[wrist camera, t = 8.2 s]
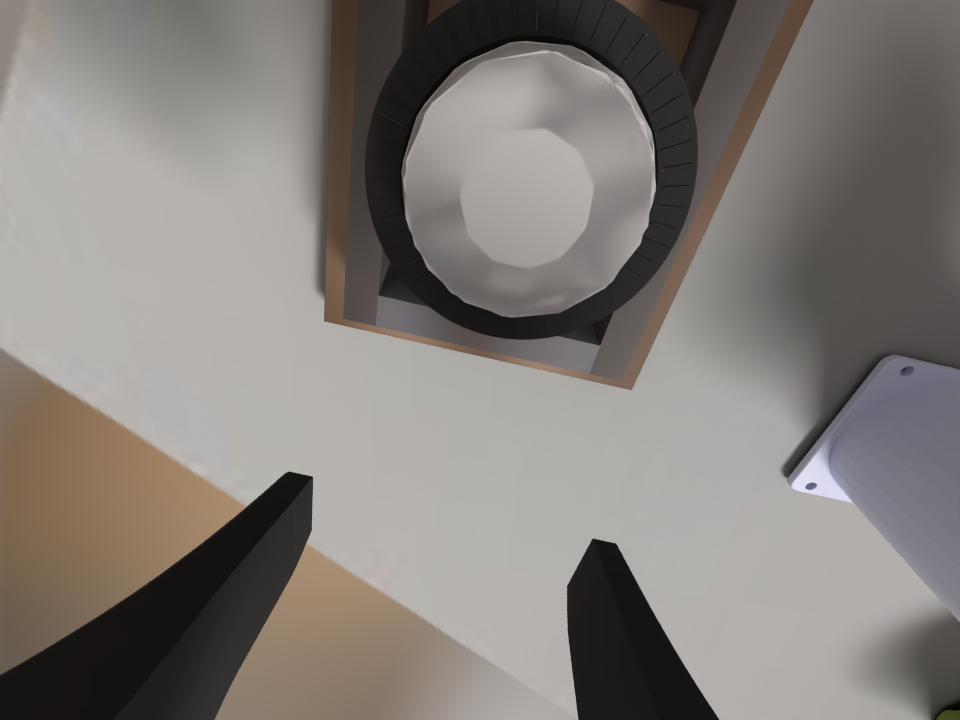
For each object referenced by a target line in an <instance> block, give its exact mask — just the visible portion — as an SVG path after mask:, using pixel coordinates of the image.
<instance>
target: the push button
mask: <svg viewBox="0 0 960 720" xmlns="http://www.w3.org/2000/svg"><path fill="white" fill-rule="evenodd" d="M697 167H698V138H697V127H696V121H695V115H694V109H693V106H692V102H691V99H690V95H689V92H688V89H687V86H686V84H685V81H684V79H683V77H682V74H681V72H680V70H679V68H678V66H677V64H676V63H675V61H674V59H673V57H672V56H671V54H670V52H669V51H668V49H667V48H666V47H665V45H664V44H663V43H662V41H661V40H660V39H659V37H658V36H657V35H656V33H655V32H654V31H653V30H652V29H651V28H650V27H649V26H648V25H647V24H646V23H645V22H644V21H643V20H642V19H641V18H639V17H638V16H637V15H635V14H634V13H633V12H632V11H630V10H629V9H628V8H626V7H625V6H624V5H622V4H620V3H618V2H617V1H615V0H461V1H460V2H458V3H456V4H455V5H453V6H452V7H450V8H449V9H447V10H445V11H444V12H442V13H441V14H440V15H439V16H438V17H436V18H435V19H434V20H433V21H432V22H430V23H429V24H428V25H427V26H426V27H425V28H424V29H423V30H422V31H421V32H420V33H419V34H418V35H417V36H416V37H415V38H414V39H413V40H412V41H411V43H410V44H409V45H408V46H407V48H406V49H405V50H404V52H403V53H402V54H401V56H400V57H399V58H398V60H397V62H396V63H395V65H394V67H393V68H392V70H391V71H390V73H389V75H388V77H387V79H386V81H385V83H384V85H383V87H382V89H381V92H380V94H379V96H378V99H377V102H376V105H375V108H374V111H373V114H372V118H371V122H370V126H369V131H368V136H367V144H366V151H365V184H366V194H367V200H368V206H369V210H370V214H371V218H372V222H373V225H374V228H375V231H376V234H377V236H378V239H379V242H380V244H381V246H382V248H383V250H384V252H385V254H386V256H387V258H388V259H389V261H390V263H391V264H392V266H393V268H394V269H395V271H396V272H397V274H398V275H399V276H400V278H401V279H402V280H403V282H404V283H405V284H406V285H407V286H408V287H409V288H410V290H411V291H412V292H413V293H414V294H415V295H416V296H417V297H418V298H419V299H420V300H422V301H423V302H424V303H425V304H426V305H427V306H429V307H430V308H431V309H433V310H434V311H435V312H436V313H438V314H440V315H441V316H443V317H444V318H446V319H448V320H449V321H451V322H453V323H455V324H457V325H459V326H461V327H463V328H466V329H469V330H471V331H474V332H477V333H480V334H484V335H488V336H492V337H498V338H504V339H515V340H534V339H543V338H550V337H555V336H560V335H564V334H567V333H570V332H574V331H577V330H580V329H582V328H584V327H587V326H589V325H591V324H594V323H595V322H597V321H599V320H601V319H603V318H605V317H607V316H608V315H610V314H611V313H613V312H614V311H616V310H617V309H619V308H620V307H622V306H623V305H624V304H625V303H627V302H628V301H629V300H630V299H632V298H633V297H634V296H635V295H636V294H637V293H638V292H639V291H640V290H641V289H642V288H643V287H644V286H645V285H646V284H647V283H648V282H649V281H650V279H651V278H652V277H653V276H654V275H655V274H656V272H657V271H658V270H659V268H660V267H661V265H662V264H663V263H664V261H665V260H666V258H667V257H668V255H669V253H670V252H671V250H672V248H673V246H674V245H675V243H676V241H677V239H678V237H679V235H680V232H681V230H682V228H683V226H684V223H685V220H686V218H687V215H688V212H689V209H690V206H691V201H692V197H693V193H694V189H695V183H696V176H697Z"/></svg>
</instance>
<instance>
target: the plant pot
mask: <svg viewBox="0 0 960 720" xmlns="http://www.w3.org/2000/svg"><path fill="white" fill-rule="evenodd" d="M936 720H960V710H957V711H953V710H945V711H943V712H942V713H941V714H940V715H939V716H938V718H937V719H936Z"/></svg>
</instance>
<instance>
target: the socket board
mask: <svg viewBox="0 0 960 720" xmlns="http://www.w3.org/2000/svg"><path fill="white" fill-rule="evenodd" d="M460 1H461V0H332V39H331V78H330V116H329V155H328V193H327V232H326V271H325V309H324V321H325V322H330V323H334V324H339V325H343V326H348V327H352V328H357V329H361V330H366V331H370V332H375V333H379V334H383V335H388V336H392V337H397V338H401V339H406V340H410V341H415V342H419V343H424V344H428V345H433V346H437V347H442V348H446V349H450V350H455V351H459V352H464V353H468V354H473V355H477V356H482V357H486V358H491V359H495V360H500V361H504V362H508V363H513V364H517V365H522V366H526V367H531V368H535V369H540V370H544V371H549V372H553V373H558V374H562V375H567V376H571V377H575V378H580V379H584V380H589V381H593V382H598V383H602V384H607V385H611V386H616V387H620V388H625V389H629V390H632V388H633V386H634V384H635V382H636V379H637V377H638V375H639V373H640V371H641V369H642V367H643V364H644V362H645V360H646V358H647V356H648V354H649V352H650V349H651V347H652V345H653V343H654V341H655V339H656V337H657V334H658V332H659V330H660V328H661V326H662V324H663V322H664V319H665V317H666V315H667V313H668V311H669V309H670V307H671V304H672V302H673V300H674V298H675V296H676V294H677V292H678V289H679V287H680V285H681V283H682V281H683V279H684V277H685V274H686V272H687V270H688V268H689V266H690V264H691V262H692V259H693V257H694V255H695V253H696V251H697V249H698V247H699V244H700V242H701V240H702V238H703V236H704V234H705V232H706V229H707V227H708V225H709V223H710V221H711V219H712V217H713V214H714V212H715V210H716V208H717V206H718V204H719V202H720V199H721V197H722V195H723V193H724V191H725V189H726V187H727V184H728V182H729V180H730V178H731V176H732V174H733V172H734V169H735V167H736V165H737V163H738V161H739V159H740V157H741V154H742V152H743V150H744V148H745V146H746V144H747V142H748V139H749V137H750V135H751V133H752V131H753V129H754V127H755V124H756V122H757V120H758V118H759V116H760V114H761V112H762V109H763V107H764V105H765V103H766V101H767V99H768V97H769V94H770V92H771V90H772V88H773V86H774V84H775V82H776V79H777V77H778V75H779V73H780V71H781V69H782V67H783V64H784V62H785V60H786V58H787V56H788V54H789V52H790V49H791V47H792V45H793V43H794V41H795V39H796V37H797V34H798V32H799V30H800V28H801V26H802V24H803V22H804V19H805V17H806V15H807V13H808V11H809V9H810V7H811V4H812V2H813V0H615V1H617V2H618V3H620V4H622V5H624V6H625V7H626V8H628V9H629V10H630V11H632V12H633V13H634V14H635V15H637V16H638V17H639V18H641V19H642V20H643V21H644V22H645V23H646V24H647V25H648V26H649V27H650V28H651V29H652V30H653V31H654V32H655V33H656V35H657V36H658V37H659V39H660V40H661V41H662V43H663V44H664V45H665V47H666V48H667V49H668V51H669V52H670V54H671V56H672V57H673V59H674V61H675V63H676V64H677V66H678V68H679V70H680V72H681V74H682V77H683V79H684V81H685V84H686V86H687V89H688V92H689V95H690V99H691V102H692V106H693V109H694V115H695V121H696V127H697V138H698V167H697V176H696V183H695V189H694V193H693V197H692V201H691V206H690V209H689V212H688V215H687V218H686V220H685V223H684V226H683V228H682V230H681V232H680V235H679V237H678V239H677V241H676V243H675V245H674V246H673V248H672V250H671V252H670V253H669V255H668V257H667V258H666V260H665V261H664V263H663V264H662V265H661V267H660V268H659V270H658V271H657V272H656V274H655V275H654V276H653V277H652V278H651V279H650V281H649V282H648V283H647V284H646V285H645V286H644V287H643V288H642V289H641V290H640V291H639V292H638V293H637V294H636V295H635V296H634V297H633V298H632V299H630V300H629V301H628V302H627V303H625V304H624V305H623V306H622V307H620V308H619V309H617V310H616V311H614V312H613V313H611V314H610V315H608V316H607V317H605V318H603V319H601V320H599V321H597V322H595V323H594V324H591V325H589V326H587V327H584V328H582V329H580V330H577V331H574V332H570V333H567V334H564V335H560V336H555V337H550V338H543V339H534V340H515V339H504V338H498V337H492V336H488V335H484V334H480V333H477V332H474V331H471V330H469V329H466V328H463V327H461V326H459V325H457V324H455V323H453V322H451V321H449V320H448V319H446V318H444V317H443V316H441V315H440V314H438V313H436V312H435V311H434V310H433V309H431V308H430V307H429V306H427V305H426V304H425V303H424V302H423V301H422V300H420V299H419V298H418V297H417V296H416V295H415V294H414V293H413V292H412V291H411V290H410V288H409V287H408V286H407V285H406V284H405V283H404V282H403V280H402V279H401V278H400V276H399V275H398V274H397V272H396V271H395V269H394V268H393V266H392V264H391V263H390V261H389V259H388V258H387V256H386V254H385V252H384V250H383V248H382V246H381V244H380V242H379V239H378V236H377V234H376V231H375V228H374V225H373V222H372V218H371V214H370V210H369V206H368V200H367V194H366V184H365V151H366V144H367V136H368V131H369V126H370V122H371V118H372V114H373V111H374V108H375V105H376V102H377V99H378V96H379V94H380V92H381V89H382V87H383V85H384V83H385V81H386V79H387V77H388V75H389V73H390V71H391V70H392V68H393V67H394V65H395V63H396V62H397V60H398V58H399V57H400V56H401V54H402V53H403V52H404V50H405V49H406V48H407V46H408V45H409V44H410V43H411V41H412V40H413V39H414V38H415V37H416V36H417V35H418V34H419V33H420V32H421V31H422V30H423V29H424V28H425V27H426V26H427V25H428V24H429V23H430V22H432V21H433V20H434V19H435V18H436V17H438V16H439V15H440V14H441V13H442V12H444V11H445V10H447V9H449V8H450V7H452V6H453V5H455V4H456V3H458V2H460Z"/></svg>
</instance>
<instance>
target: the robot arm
mask: <svg viewBox="0 0 960 720" xmlns="http://www.w3.org/2000/svg"><path fill="white" fill-rule="evenodd" d="M905 367H906V368H905ZM903 368H905V369H904V370H903V371H901V370H902V369H903ZM787 483H788V484H789V485H790V487H791V488H792V489H794V490H796V491H801V492H806V493H810V494H815V495H819V496H824V497H828V498H833V499H837V500H842V501H847V502H851V503H854V504H855V505H856V506H857V507H858V509H859V510H860V511H861V512H862V513H863V514H864V515H865V516H866V518H867V519H868V520H869V521H870V522H871V523H872V524H873V525H874V527H875V528H876V529H877V530H878V531H879V532H880V533H881V534H882V536H883V537H884V538H885V539H886V540H887V541H888V542H889V543H890V545H891V546H892V547H893V548H894V549H895V550H896V551H897V552H898V553H899V555H900V556H901V557H902V558H903V559H904V560H905V561H906V562H907V564H908V565H909V566H910V567H911V568H912V569H913V570H914V571H915V573H916V574H917V575H918V576H919V577H920V578H921V579H922V580H923V582H924V583H925V584H926V585H927V586H928V587H929V588H930V589H931V591H932V592H933V593H934V594H935V595H936V596H937V597H938V598H939V600H940V601H941V602H942V603H943V604H944V605H945V606H946V607H947V609H948V610H949V611H950V612H951V613H952V614H953V615H954V616H955V618H956V619H957V620H958V621H959V622H960V369H956V368H952V367H947V366H943V365H939V364H934V363H930V362H926V361H921V360H917V359H913V358H908V357H904V356H900V355H890V356H887V357H885V358H883V359H882V360H881V361H880V362H879V363H878V364H877V366H876V367H875V368H874V369H873V371H872V372H871V373H870V374H869V376H868V377H867V378H866V380H865V381H864V382H863V383H862V385H861V386H860V387H859V388H858V390H857V391H856V392H855V394H854V395H853V396H852V397H851V399H850V400H849V401H848V402H847V404H846V405H845V406H844V407H843V409H842V410H841V411H840V413H839V414H838V415H837V416H836V418H835V419H834V420H833V421H832V423H831V424H830V425H829V427H828V428H827V429H826V430H825V432H824V433H823V434H822V435H821V437H820V438H819V439H818V440H817V442H816V443H815V444H814V446H813V447H812V448H811V449H810V451H809V452H808V453H807V454H806V456H805V457H804V458H803V459H802V461H801V462H800V463H799V465H798V466H797V467H796V468H795V470H794V471H793V472H792V473H791V475H790V476H789V477H788V479H787ZM808 483H809V484H808ZM312 496H313V477H311V476H307V475H302V474H298V473H293V472H287V473H285V474H284V475H283V476H282V477H280V478H279V479H278V480H277V481H276V482H275V483H274V484H273V485H271V486H270V487H269V488H268V489H267V490H266V491H265V492H264V493H262V494H261V495H260V496H259V497H258V498H257V499H256V500H254V501H253V502H252V503H251V504H250V505H248V506H247V507H246V508H245V509H244V510H243V511H242V512H240V513H239V514H238V515H237V516H235V517H234V518H233V519H232V520H230V521H229V522H228V523H227V524H226V525H224V526H223V527H222V528H221V529H219V530H218V531H217V532H216V533H214V534H213V535H212V536H211V537H210V538H208V539H207V540H206V541H204V542H203V543H202V544H201V545H199V546H198V547H197V548H195V549H194V550H193V551H191V552H190V553H188V554H187V555H186V556H184V557H183V558H182V559H181V560H179V561H178V562H176V563H175V564H174V565H172V566H171V567H170V568H168V569H167V570H166V571H164V572H163V573H162V574H160V575H159V576H158V577H156V578H155V579H153V580H152V581H150V582H149V583H147V584H146V585H145V586H143V587H142V588H140V589H139V590H137V591H136V592H134V593H133V594H131V595H130V596H129V597H127V598H125V599H124V600H123V601H121V602H119V603H118V604H117V605H115V606H114V607H112V608H110V609H109V610H107V611H106V612H104V613H103V614H101V615H100V616H98V617H96V618H95V619H93V620H92V621H90V622H89V623H87V624H85V625H84V626H82V627H81V628H79V629H77V630H76V631H74V632H73V633H71V634H69V635H67V636H66V637H64V638H63V639H61V640H60V641H58V642H56V643H55V644H53V645H51V646H50V647H48V648H46V649H45V650H43V651H41V652H40V653H38V654H36V655H35V656H33V657H31V658H29V659H28V660H26V661H24V662H23V663H21V664H19V665H17V666H16V667H14V668H12V669H10V670H8V671H7V672H5V673H3V674H1V675H0V720H214V719H215V717H216V715H217V713H218V711H219V709H220V707H221V704H222V702H223V700H224V698H225V696H226V694H227V692H228V689H229V688H230V686H231V684H232V682H233V680H234V678H235V676H236V674H237V672H238V670H239V668H240V667H241V665H242V663H243V661H244V659H245V658H246V656H247V654H248V652H249V651H250V649H251V647H252V645H253V644H254V642H255V640H256V638H257V637H258V635H259V633H260V631H261V629H262V628H263V626H264V624H265V622H266V620H267V619H268V617H269V615H270V613H271V612H272V610H273V608H274V606H275V605H276V603H277V601H278V599H279V597H280V595H281V594H282V592H283V590H284V588H285V586H286V585H287V583H288V581H289V579H290V577H291V576H292V574H293V572H294V570H295V568H296V565H297V563H298V561H299V559H300V556H301V554H302V552H303V550H304V547H305V545H306V542H307V540H308V538H309V535H310V533H311V531H312ZM567 617H568V636H569V645H570V654H571V662H572V671H573V679H574V687H575V695H576V703H577V711H578V719H579V720H719V719H718V717H717V716H716V714H715V713H714V711H713V710H712V708H711V707H710V705H709V704H708V702H707V701H706V699H705V697H704V696H703V694H702V693H701V691H700V690H699V688H698V687H697V685H696V683H695V682H694V680H693V679H692V677H691V675H690V674H689V672H688V671H687V669H686V667H685V666H684V664H683V663H682V661H681V659H680V658H679V656H678V654H677V653H676V651H675V649H674V648H673V646H672V644H671V642H670V641H669V639H668V637H667V635H666V634H665V632H664V630H663V629H662V627H661V625H660V623H659V622H658V620H657V618H656V616H655V615H654V613H653V611H652V609H651V607H650V606H649V604H648V602H647V600H646V598H645V596H644V595H643V593H642V591H641V589H640V587H639V585H638V584H637V582H636V580H635V578H634V576H633V574H632V572H631V570H630V569H629V567H628V565H627V563H626V561H625V559H624V557H623V555H622V553H621V552H620V550H619V548H618V546H617V545H616V544H615V543H611V542H606V541H602V540H597V539H592V541H591V543H590V545H589V547H588V548H587V550H586V552H585V554H584V556H583V558H582V560H581V561H580V563H579V565H578V567H577V569H576V571H575V573H574V574H573V576H572V578H571V580H570V582H569V584H568V586H567Z"/></svg>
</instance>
